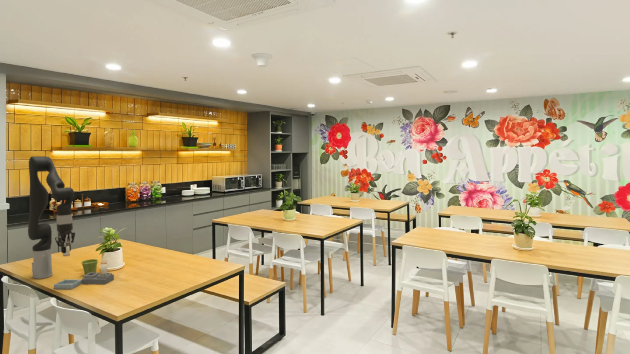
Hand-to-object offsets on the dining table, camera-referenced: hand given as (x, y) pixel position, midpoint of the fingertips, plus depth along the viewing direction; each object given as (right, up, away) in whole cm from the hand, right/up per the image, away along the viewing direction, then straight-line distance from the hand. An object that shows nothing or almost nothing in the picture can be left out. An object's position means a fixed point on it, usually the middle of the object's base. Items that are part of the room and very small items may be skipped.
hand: (66, 251), depth 216 cm
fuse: (+17, -17, +9) cm, 25 cm away
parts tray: (0, -20, +1) cm, 20 cm away
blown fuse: (0, -2, 0) cm, 2 cm away
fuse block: (+13, -20, +9) cm, 25 cm away
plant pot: (+1, -19, +22) cm, 29 cm away
